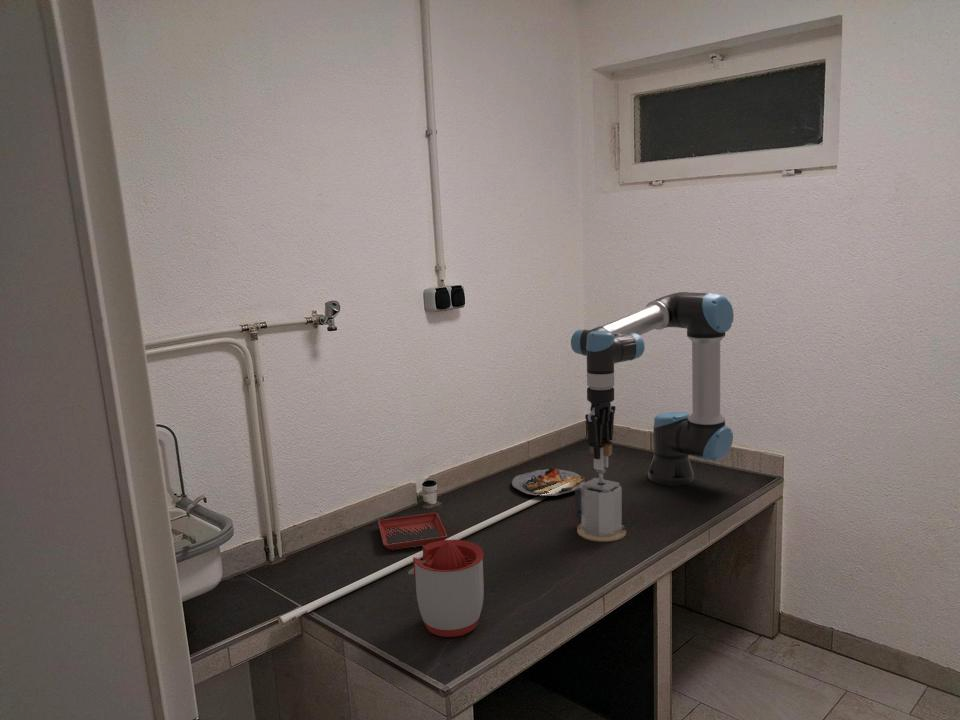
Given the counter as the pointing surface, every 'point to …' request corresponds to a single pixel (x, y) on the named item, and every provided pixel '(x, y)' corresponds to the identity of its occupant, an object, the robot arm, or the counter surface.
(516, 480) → the food plate
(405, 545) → the plant saucer
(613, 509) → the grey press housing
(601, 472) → the plunger
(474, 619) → the citrus juicer
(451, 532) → the counter surface
